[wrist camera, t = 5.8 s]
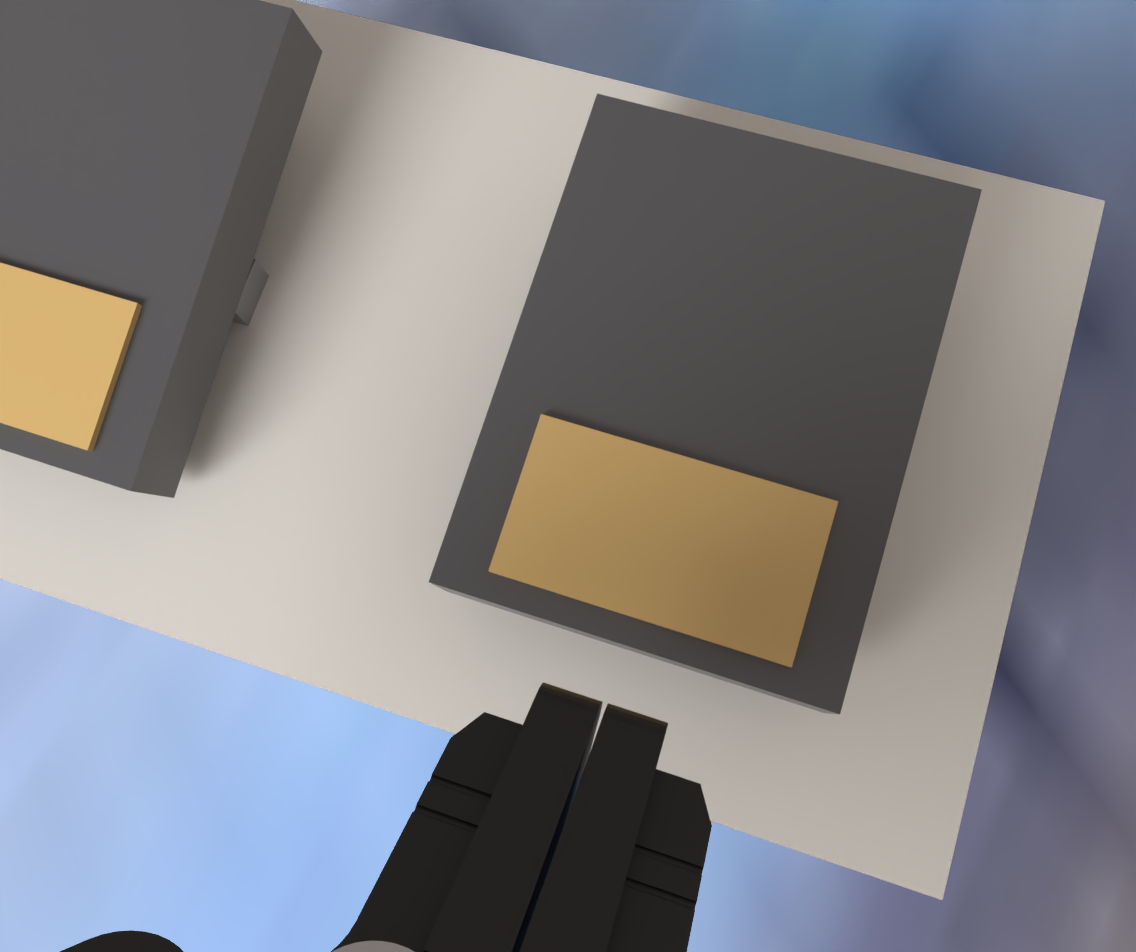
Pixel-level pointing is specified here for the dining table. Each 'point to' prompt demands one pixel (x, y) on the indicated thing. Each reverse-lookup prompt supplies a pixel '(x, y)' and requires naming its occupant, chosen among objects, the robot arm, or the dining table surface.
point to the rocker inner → (133, 216)
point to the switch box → (454, 421)
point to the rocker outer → (712, 400)
